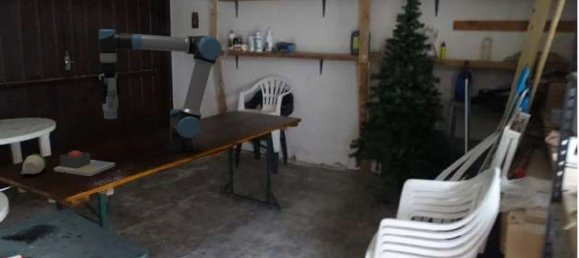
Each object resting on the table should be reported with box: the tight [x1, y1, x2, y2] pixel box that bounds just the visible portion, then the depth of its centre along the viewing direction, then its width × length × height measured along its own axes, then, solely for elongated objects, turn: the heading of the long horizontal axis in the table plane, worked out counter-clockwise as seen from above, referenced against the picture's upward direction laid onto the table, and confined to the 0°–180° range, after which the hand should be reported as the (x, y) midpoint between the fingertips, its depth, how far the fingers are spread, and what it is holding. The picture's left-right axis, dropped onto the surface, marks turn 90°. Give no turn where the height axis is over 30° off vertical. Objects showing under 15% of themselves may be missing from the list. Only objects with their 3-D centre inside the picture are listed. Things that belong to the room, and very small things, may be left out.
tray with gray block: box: [53, 151, 116, 177], centre depth 234 cm, size 20×18×6 cm
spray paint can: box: [103, 77, 118, 120], centre depth 240 cm, size 6×6×20 cm
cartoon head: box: [20, 153, 47, 175], centre depth 225 cm, size 9×10×20 cm
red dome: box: [67, 150, 83, 158], centre depth 234 cm, size 7×7×7 cm
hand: (110, 108), depth 241 cm, fingers closed on spray paint can, 6 cm apart
